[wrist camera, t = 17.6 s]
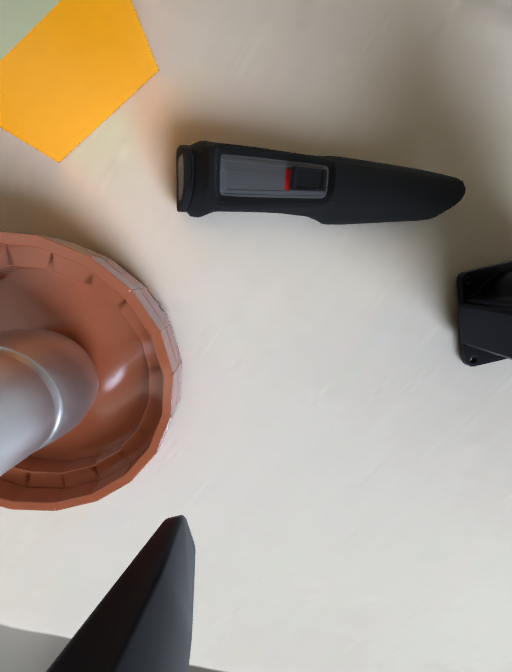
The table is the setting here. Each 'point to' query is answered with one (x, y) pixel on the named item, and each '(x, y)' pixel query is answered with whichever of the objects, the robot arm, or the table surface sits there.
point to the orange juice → (68, 68)
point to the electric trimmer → (307, 185)
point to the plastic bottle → (41, 390)
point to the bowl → (109, 359)
